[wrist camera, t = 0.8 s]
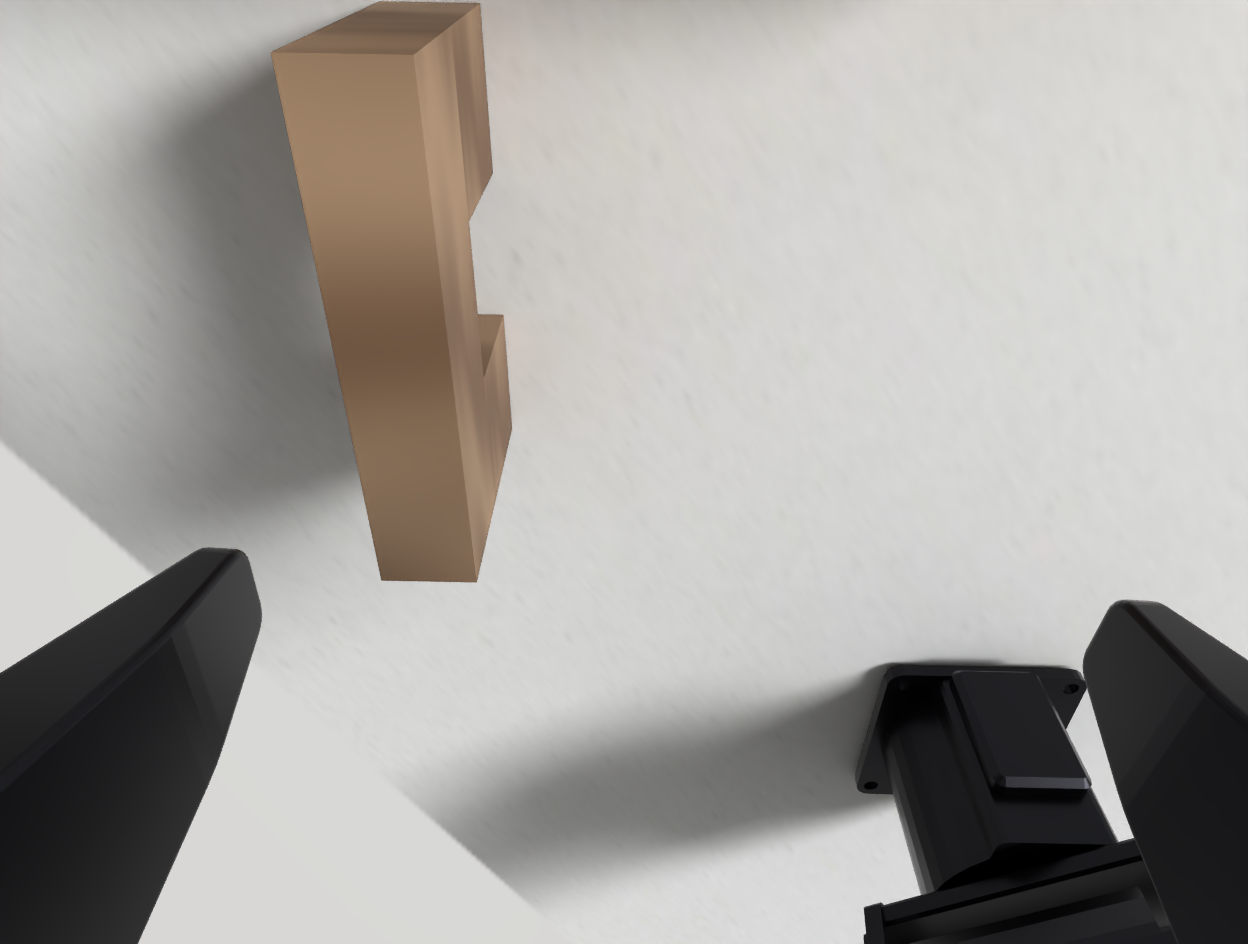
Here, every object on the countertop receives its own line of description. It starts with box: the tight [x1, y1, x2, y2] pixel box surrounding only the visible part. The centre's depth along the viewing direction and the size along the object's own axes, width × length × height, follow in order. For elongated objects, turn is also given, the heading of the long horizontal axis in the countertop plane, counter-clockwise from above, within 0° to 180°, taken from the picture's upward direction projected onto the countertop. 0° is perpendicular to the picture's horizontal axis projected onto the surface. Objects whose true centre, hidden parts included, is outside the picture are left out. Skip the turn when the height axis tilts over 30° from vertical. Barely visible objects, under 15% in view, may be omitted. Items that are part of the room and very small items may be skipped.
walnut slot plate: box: [271, 1, 512, 582], centre depth 17 cm, size 10×2×6 cm, turn 179°
